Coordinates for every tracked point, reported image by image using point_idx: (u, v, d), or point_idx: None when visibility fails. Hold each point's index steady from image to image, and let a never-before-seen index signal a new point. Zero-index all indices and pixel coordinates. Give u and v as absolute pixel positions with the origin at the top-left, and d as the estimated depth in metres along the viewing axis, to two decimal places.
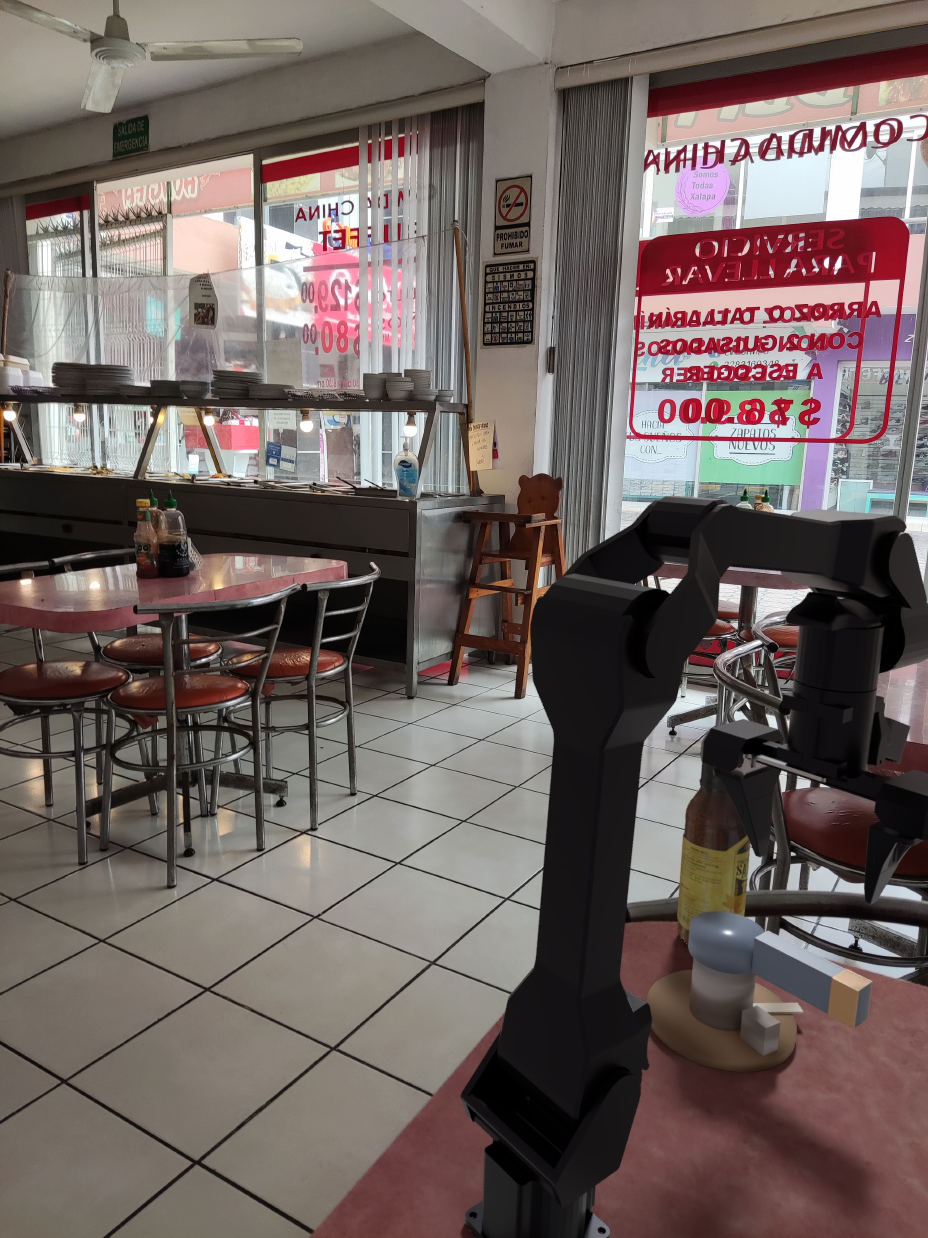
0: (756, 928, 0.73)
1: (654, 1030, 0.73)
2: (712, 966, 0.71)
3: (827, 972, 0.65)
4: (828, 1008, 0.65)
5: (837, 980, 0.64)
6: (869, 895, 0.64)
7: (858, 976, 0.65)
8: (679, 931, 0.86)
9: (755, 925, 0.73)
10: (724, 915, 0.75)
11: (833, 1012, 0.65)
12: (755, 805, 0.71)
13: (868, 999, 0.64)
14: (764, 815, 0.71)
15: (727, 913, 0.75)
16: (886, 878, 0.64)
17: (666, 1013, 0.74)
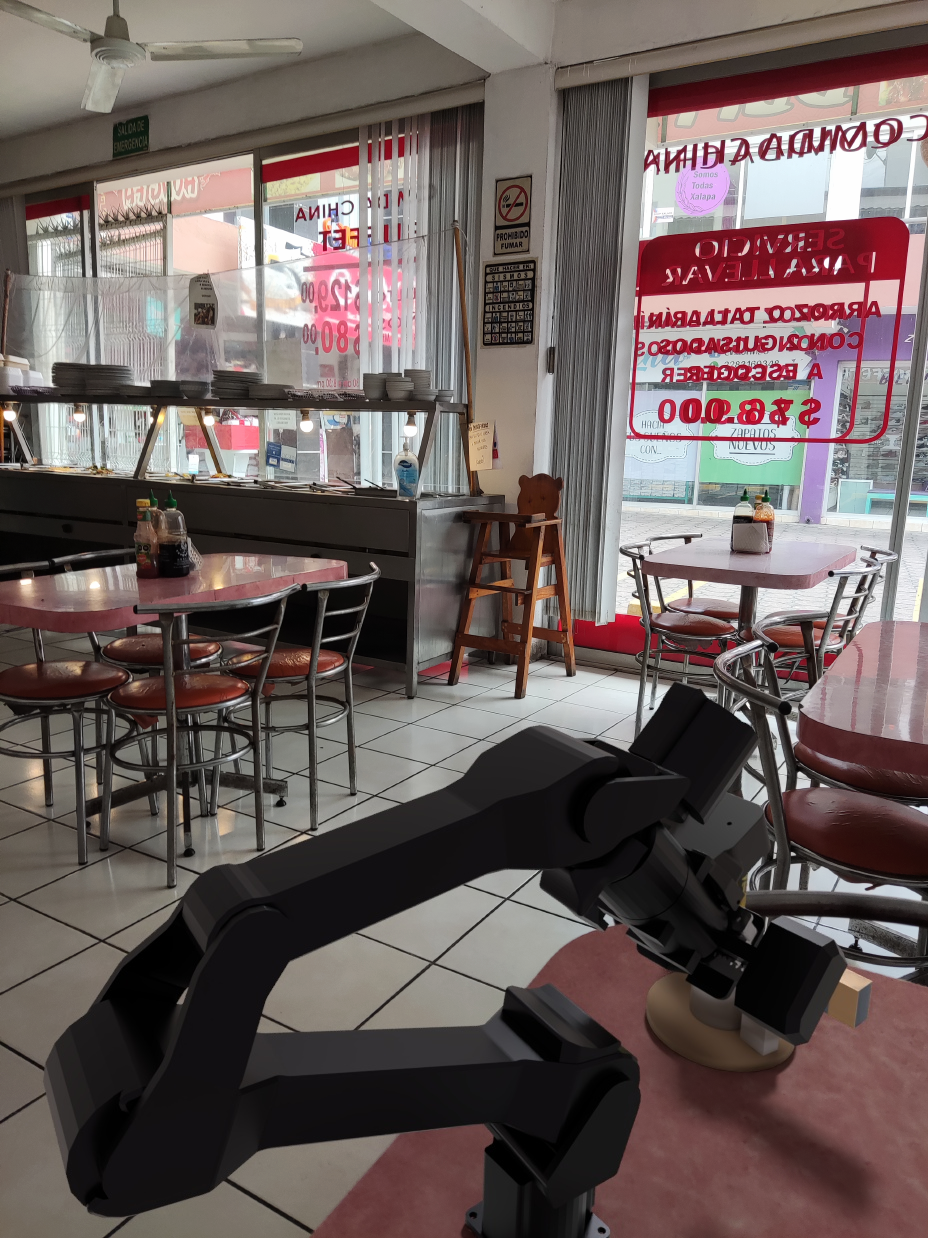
0: None
1: (654, 1030, 0.73)
2: None
3: None
4: (828, 1008, 0.65)
5: None
6: None
7: (858, 976, 0.65)
8: None
9: None
10: None
11: (833, 1012, 0.65)
12: None
13: (868, 999, 0.64)
14: None
15: None
16: None
17: (666, 1013, 0.74)
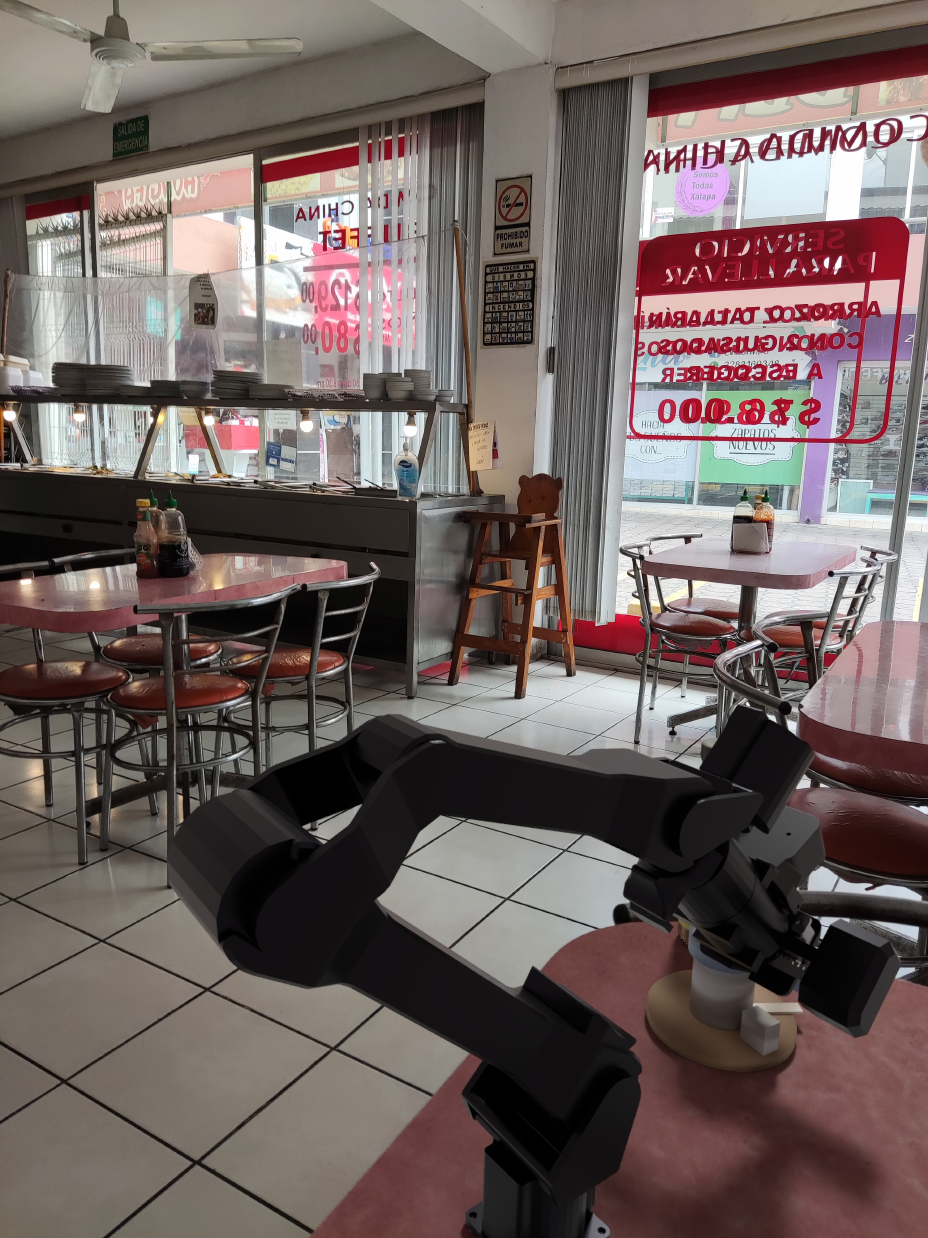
0: None
1: (654, 1030, 0.73)
2: (715, 967, 0.70)
3: None
4: None
5: None
6: None
7: None
8: (679, 931, 0.86)
9: None
10: None
11: None
12: None
13: None
14: None
15: None
16: None
17: (666, 1013, 0.74)
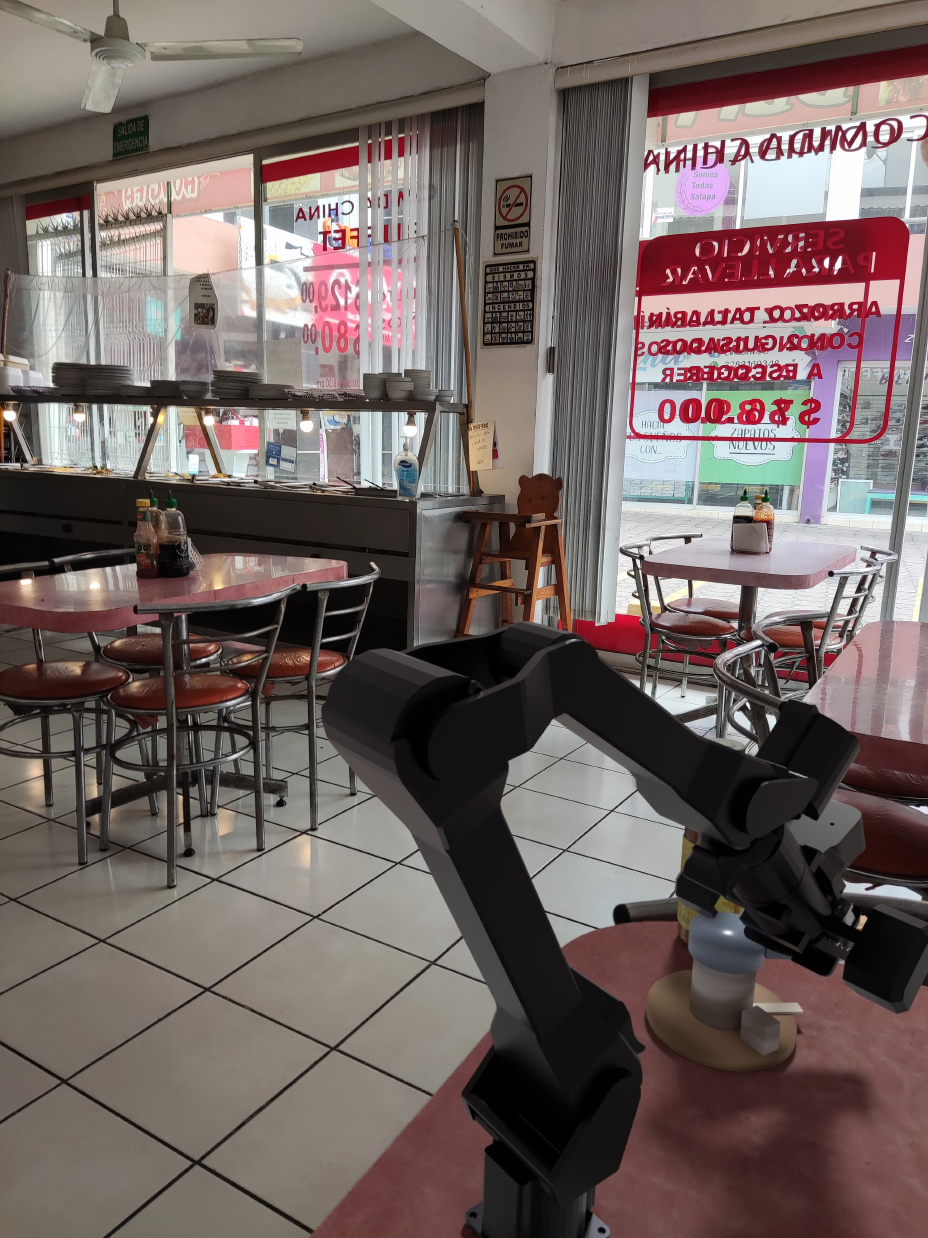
0: (735, 917, 0.75)
1: (654, 1030, 0.73)
2: (746, 970, 0.70)
3: None
4: None
5: None
6: None
7: None
8: (679, 931, 0.86)
9: (730, 914, 0.75)
10: (703, 918, 0.74)
11: None
12: None
13: None
14: None
15: (701, 915, 0.75)
16: None
17: (666, 1013, 0.74)
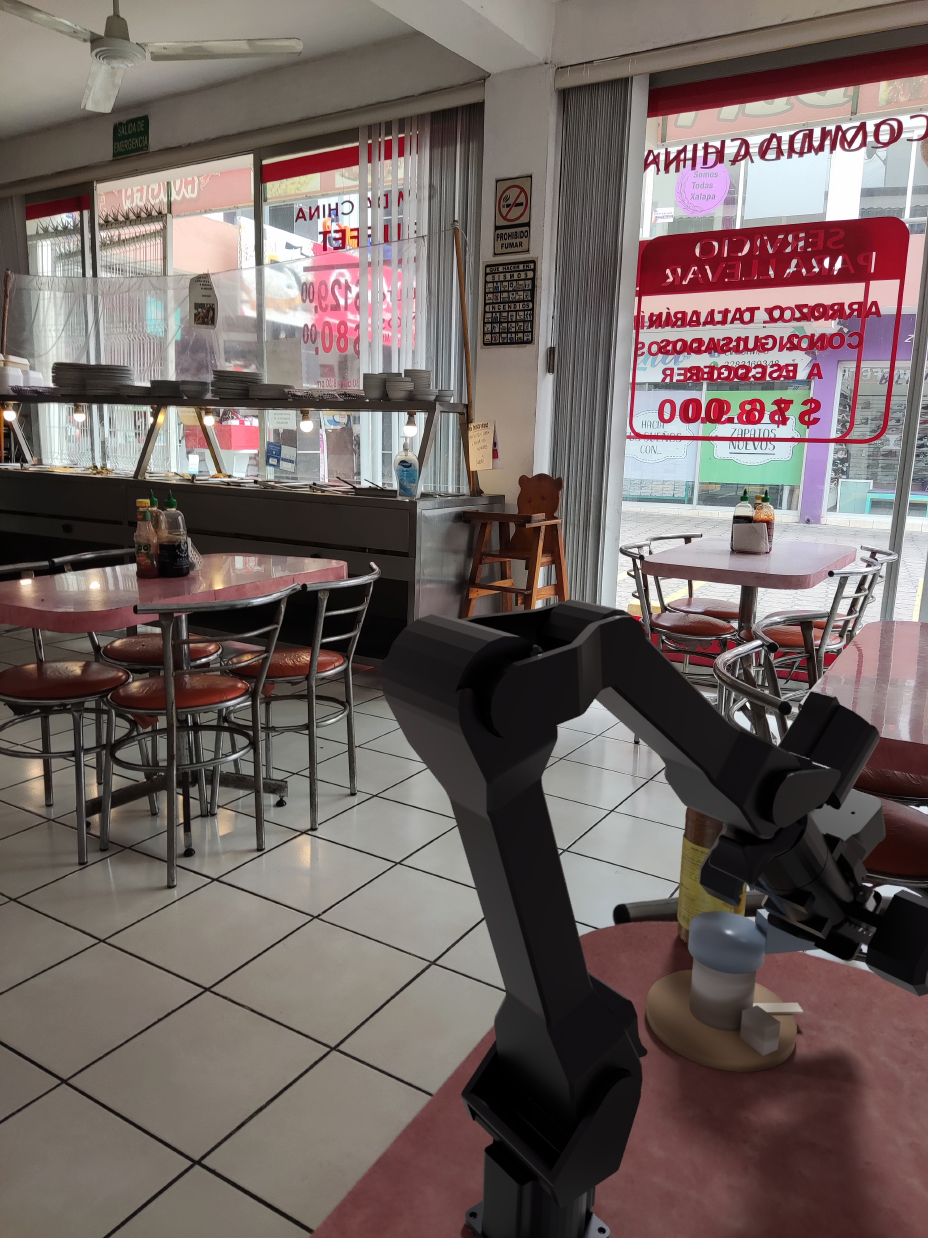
0: (729, 915, 0.75)
1: (654, 1030, 0.73)
2: (752, 969, 0.70)
3: None
4: None
5: None
6: None
7: None
8: (679, 931, 0.86)
9: (723, 913, 0.75)
10: (700, 920, 0.74)
11: None
12: None
13: None
14: None
15: (697, 917, 0.74)
16: None
17: (666, 1013, 0.74)
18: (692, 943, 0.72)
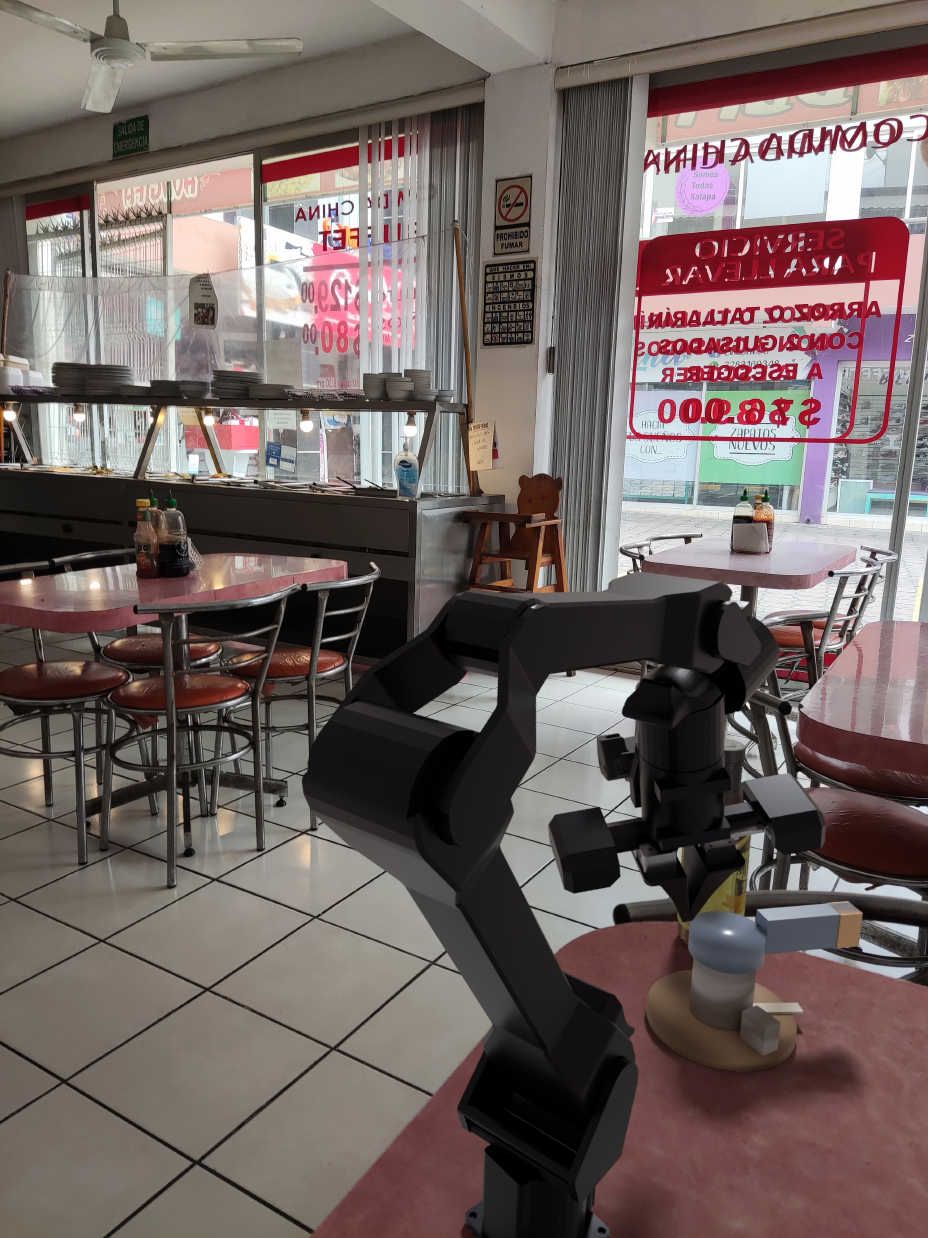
0: (729, 915, 0.75)
1: (654, 1030, 0.73)
2: (752, 969, 0.70)
3: (831, 913, 0.74)
4: (837, 942, 0.74)
5: (844, 914, 0.73)
6: (694, 916, 0.66)
7: (839, 903, 0.75)
8: (679, 931, 0.86)
9: (723, 913, 0.75)
10: (700, 920, 0.74)
11: (842, 943, 0.74)
12: None
13: None
14: None
15: (697, 917, 0.74)
16: None
17: (666, 1013, 0.74)
18: (692, 943, 0.72)
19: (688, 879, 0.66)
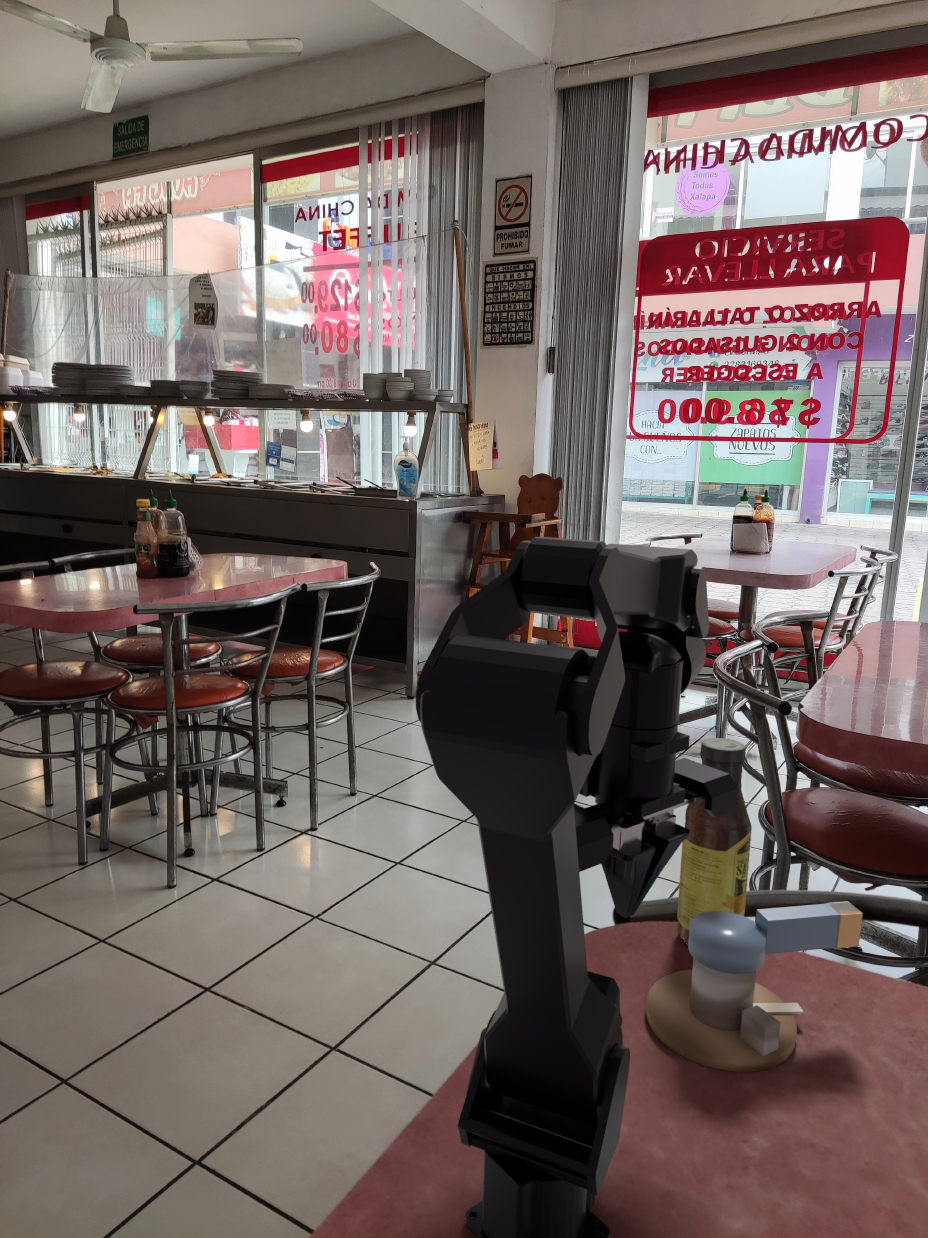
0: (729, 915, 0.75)
1: (654, 1030, 0.73)
2: (752, 969, 0.70)
3: (831, 913, 0.74)
4: (837, 942, 0.74)
5: (844, 914, 0.73)
6: (637, 906, 0.67)
7: (839, 903, 0.75)
8: (679, 931, 0.86)
9: (723, 913, 0.75)
10: (700, 920, 0.74)
11: (842, 943, 0.74)
12: None
13: None
14: None
15: (697, 917, 0.74)
16: None
17: (666, 1013, 0.74)
18: (692, 943, 0.72)
19: None
